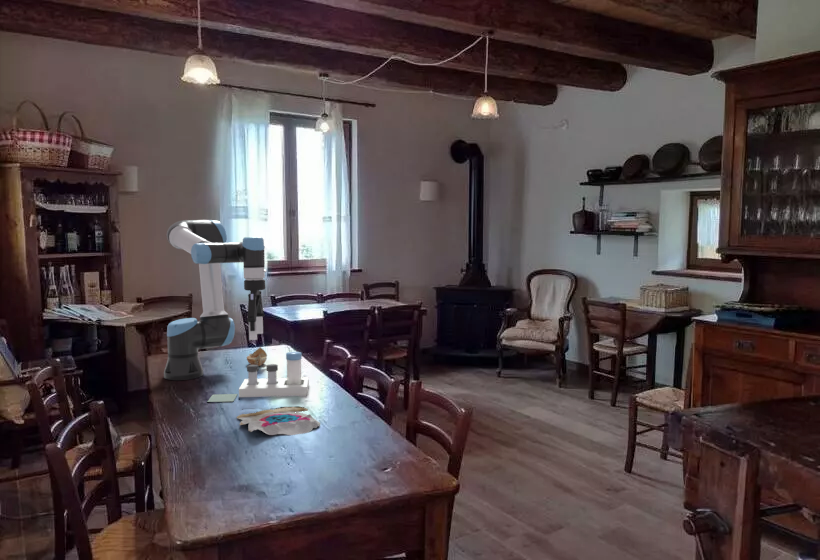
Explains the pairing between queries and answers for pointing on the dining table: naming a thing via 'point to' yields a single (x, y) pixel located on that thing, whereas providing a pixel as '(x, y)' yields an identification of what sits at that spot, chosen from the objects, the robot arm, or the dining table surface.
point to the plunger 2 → (272, 373)
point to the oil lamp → (257, 357)
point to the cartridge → (294, 368)
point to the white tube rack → (273, 388)
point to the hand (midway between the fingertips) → (256, 336)
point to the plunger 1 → (252, 374)
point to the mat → (223, 398)
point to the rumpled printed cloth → (280, 421)
